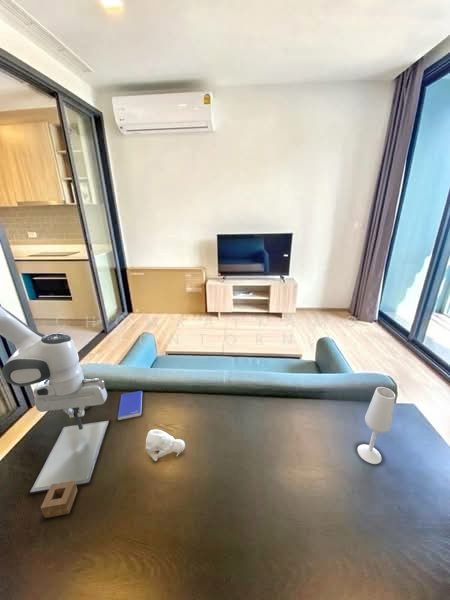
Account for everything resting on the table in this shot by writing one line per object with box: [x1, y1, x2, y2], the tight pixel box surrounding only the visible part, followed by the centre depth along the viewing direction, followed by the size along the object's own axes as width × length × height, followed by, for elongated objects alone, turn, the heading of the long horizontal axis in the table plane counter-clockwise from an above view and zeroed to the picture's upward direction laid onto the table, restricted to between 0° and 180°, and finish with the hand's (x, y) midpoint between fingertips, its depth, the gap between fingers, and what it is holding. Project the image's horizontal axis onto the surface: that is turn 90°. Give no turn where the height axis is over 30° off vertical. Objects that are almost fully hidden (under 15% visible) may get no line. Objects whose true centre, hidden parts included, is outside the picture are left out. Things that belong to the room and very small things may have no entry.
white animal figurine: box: [145, 428, 186, 462], centre depth 78 cm, size 6×8×12 cm
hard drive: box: [117, 390, 143, 421], centre depth 98 cm, size 2×8×12 cm
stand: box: [40, 480, 79, 519], centre depth 65 cm, size 6×6×4 cm
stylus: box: [72, 407, 83, 430], centre depth 83 cm, size 1×1×14 cm
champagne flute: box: [356, 386, 396, 465], centre depth 74 cm, size 7×7×24 cm
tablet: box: [29, 420, 110, 495], centre depth 80 cm, size 15×22×1 cm
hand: (77, 415), depth 83 cm, fingers closed on stylus, 1 cm apart
